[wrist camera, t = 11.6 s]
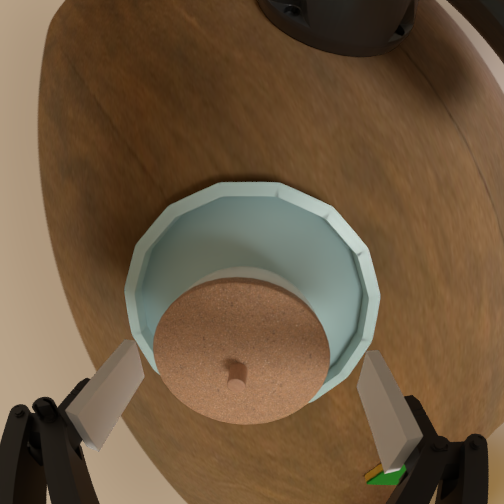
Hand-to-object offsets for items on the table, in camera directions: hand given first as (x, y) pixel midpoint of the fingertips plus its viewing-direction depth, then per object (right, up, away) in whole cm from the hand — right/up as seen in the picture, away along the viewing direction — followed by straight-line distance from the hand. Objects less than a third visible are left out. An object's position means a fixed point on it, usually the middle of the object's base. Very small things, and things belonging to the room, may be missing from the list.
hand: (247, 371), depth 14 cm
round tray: (0, +2, +9) cm, 10 cm away
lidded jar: (0, +2, +9) cm, 9 cm away
